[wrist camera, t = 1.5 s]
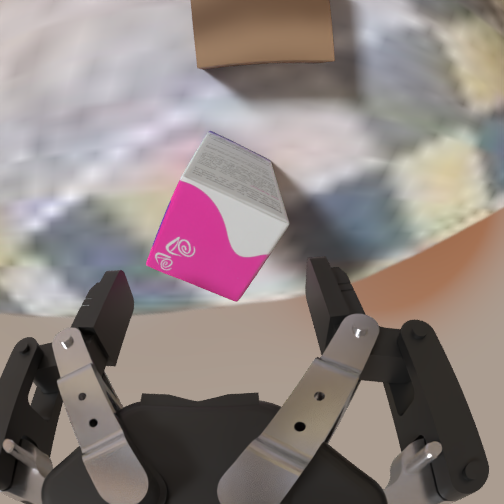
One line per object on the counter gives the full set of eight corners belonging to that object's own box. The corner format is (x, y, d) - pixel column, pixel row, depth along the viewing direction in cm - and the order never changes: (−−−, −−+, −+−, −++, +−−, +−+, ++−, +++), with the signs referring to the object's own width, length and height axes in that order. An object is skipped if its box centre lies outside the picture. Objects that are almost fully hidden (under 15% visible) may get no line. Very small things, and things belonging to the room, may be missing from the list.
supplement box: (206, 128, 22) (182, 171, 13) (272, 160, 24) (298, 225, 14) (177, 189, 25) (143, 268, 15) (239, 216, 27) (242, 306, 17)
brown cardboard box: (194, -27, 15) (187, -44, 11) (309, -32, 15) (322, -49, 11) (203, 69, 20) (197, 68, 16) (319, 63, 20) (334, 61, 16)
